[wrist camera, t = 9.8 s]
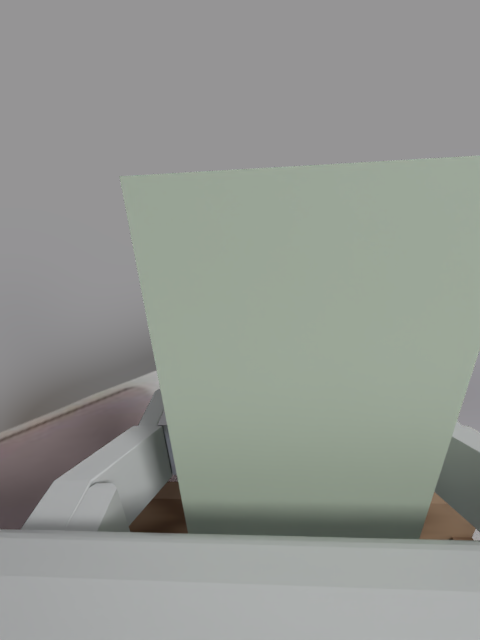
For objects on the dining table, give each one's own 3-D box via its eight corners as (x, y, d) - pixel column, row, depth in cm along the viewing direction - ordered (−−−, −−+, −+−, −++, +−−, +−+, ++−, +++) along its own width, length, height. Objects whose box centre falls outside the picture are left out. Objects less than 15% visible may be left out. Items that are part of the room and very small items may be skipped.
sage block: (213, 666, 9) (119, 176, 4) (227, 509, 14) (194, 182, 8) (376, 674, 9) (542, 152, 3) (335, 511, 14) (379, 171, 8)
